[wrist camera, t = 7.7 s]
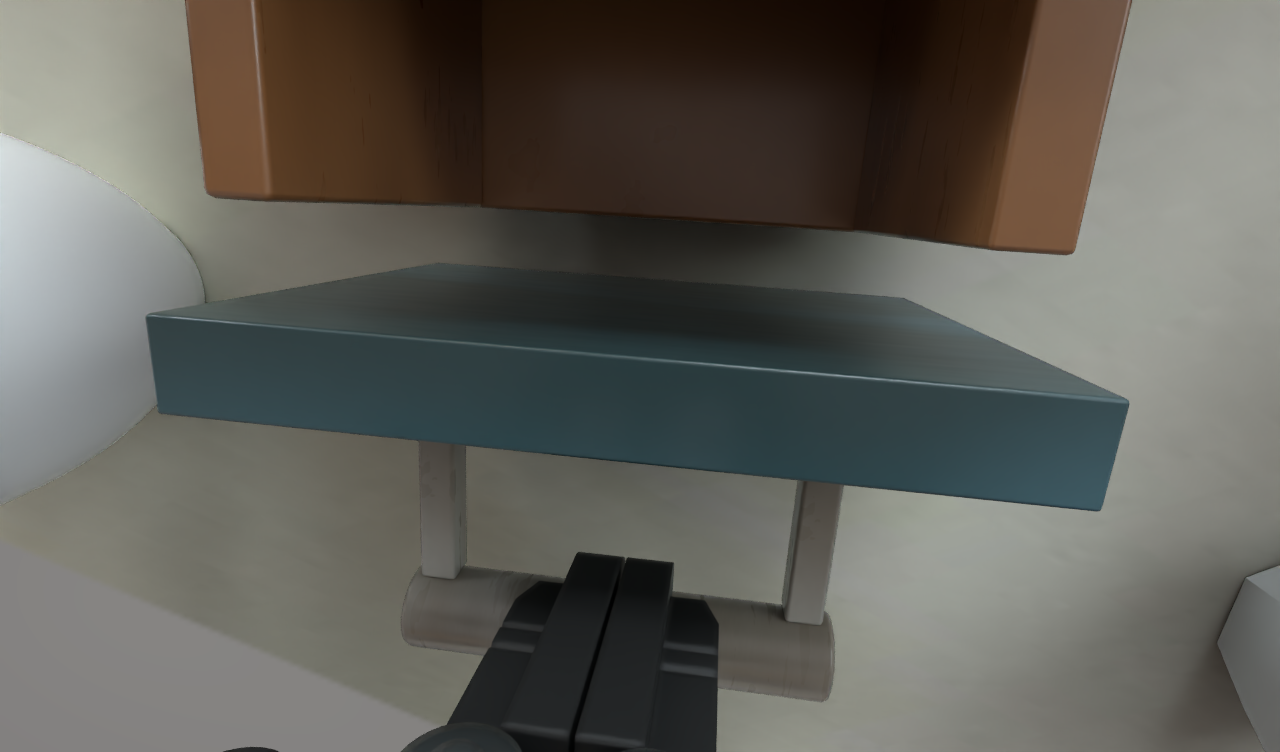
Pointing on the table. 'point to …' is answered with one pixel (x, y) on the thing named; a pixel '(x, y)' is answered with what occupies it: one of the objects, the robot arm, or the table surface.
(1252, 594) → the salt shaker
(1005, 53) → the drawer
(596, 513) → the table surface
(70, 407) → the cup
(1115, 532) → the table surface
